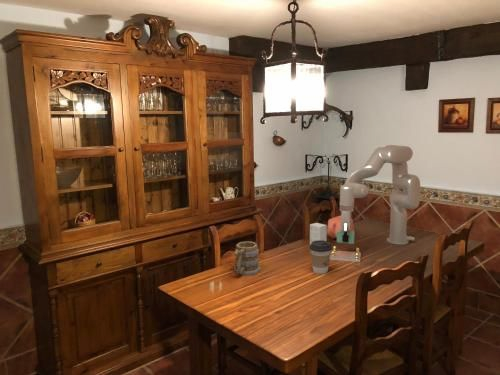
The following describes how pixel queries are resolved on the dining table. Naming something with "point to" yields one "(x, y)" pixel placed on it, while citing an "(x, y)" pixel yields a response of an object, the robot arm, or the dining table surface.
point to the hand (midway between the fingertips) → (345, 239)
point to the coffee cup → (320, 256)
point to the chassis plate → (345, 255)
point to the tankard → (247, 258)
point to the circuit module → (350, 239)
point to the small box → (318, 232)
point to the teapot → (336, 226)
